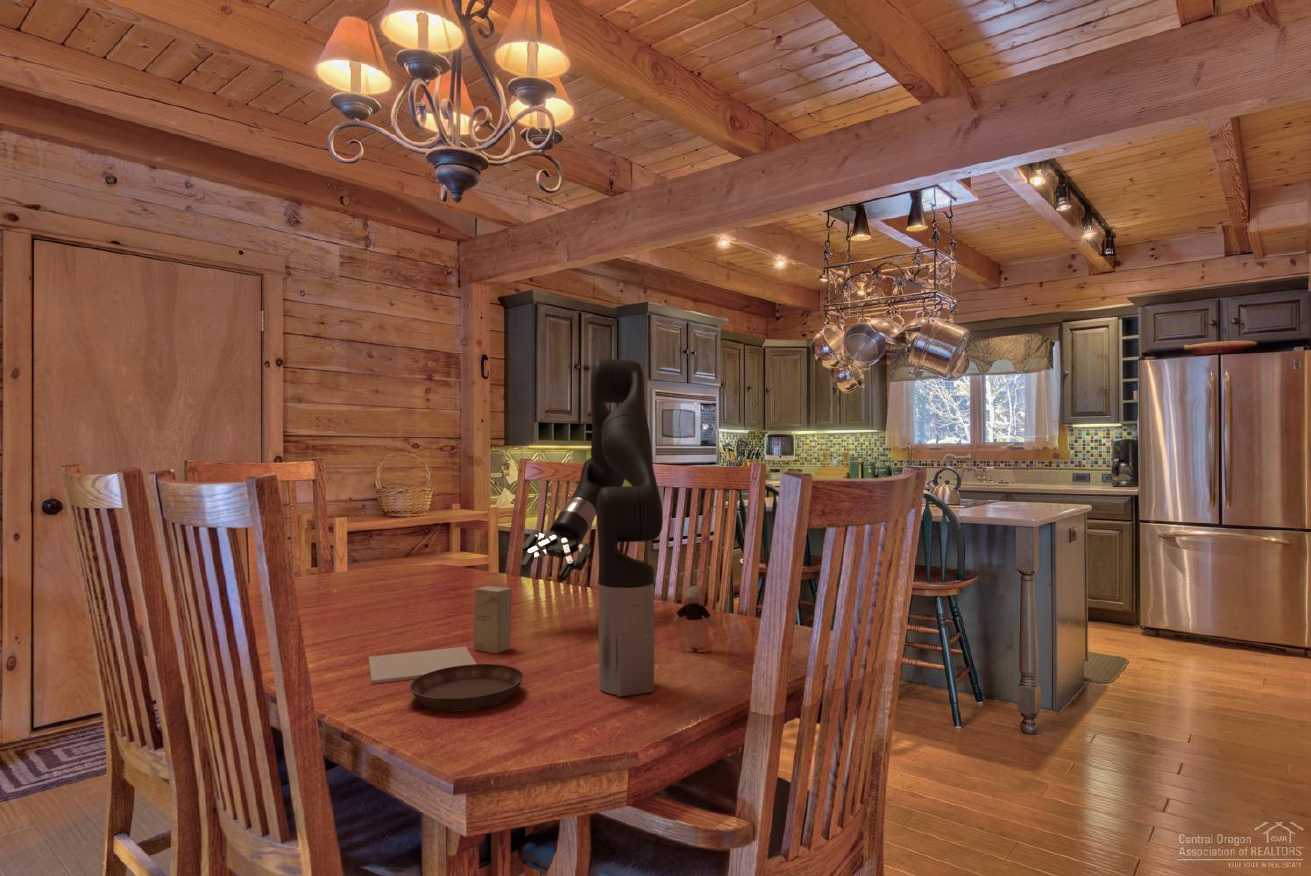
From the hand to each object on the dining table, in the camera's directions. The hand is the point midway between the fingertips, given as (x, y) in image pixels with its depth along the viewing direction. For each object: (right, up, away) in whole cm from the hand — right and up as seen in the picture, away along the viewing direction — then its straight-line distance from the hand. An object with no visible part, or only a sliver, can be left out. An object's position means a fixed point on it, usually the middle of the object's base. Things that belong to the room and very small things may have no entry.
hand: (541, 574), depth 158 cm
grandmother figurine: (+32, -13, -12) cm, 36 cm away
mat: (-19, -13, -21) cm, 31 cm away
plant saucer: (-6, -13, -38) cm, 41 cm away
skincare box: (-8, -13, -10) cm, 18 cm away
